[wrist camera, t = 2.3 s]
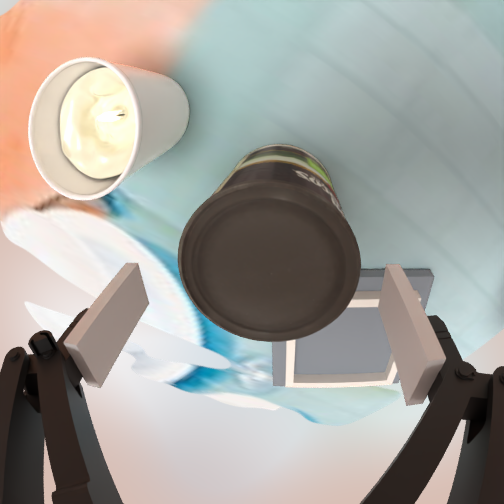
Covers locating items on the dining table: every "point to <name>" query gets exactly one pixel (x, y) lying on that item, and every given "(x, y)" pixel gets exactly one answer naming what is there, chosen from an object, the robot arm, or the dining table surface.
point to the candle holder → (102, 124)
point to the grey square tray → (347, 342)
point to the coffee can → (271, 249)
